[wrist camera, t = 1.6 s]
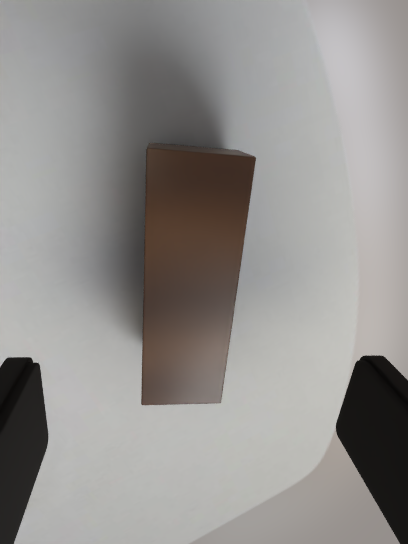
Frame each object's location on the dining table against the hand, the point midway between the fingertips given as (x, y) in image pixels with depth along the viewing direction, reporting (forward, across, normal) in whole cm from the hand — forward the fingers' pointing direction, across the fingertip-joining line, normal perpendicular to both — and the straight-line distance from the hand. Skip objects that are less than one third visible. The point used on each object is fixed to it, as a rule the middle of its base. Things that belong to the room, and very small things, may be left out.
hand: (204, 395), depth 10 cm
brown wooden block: (+9, 0, -1) cm, 9 cm away
